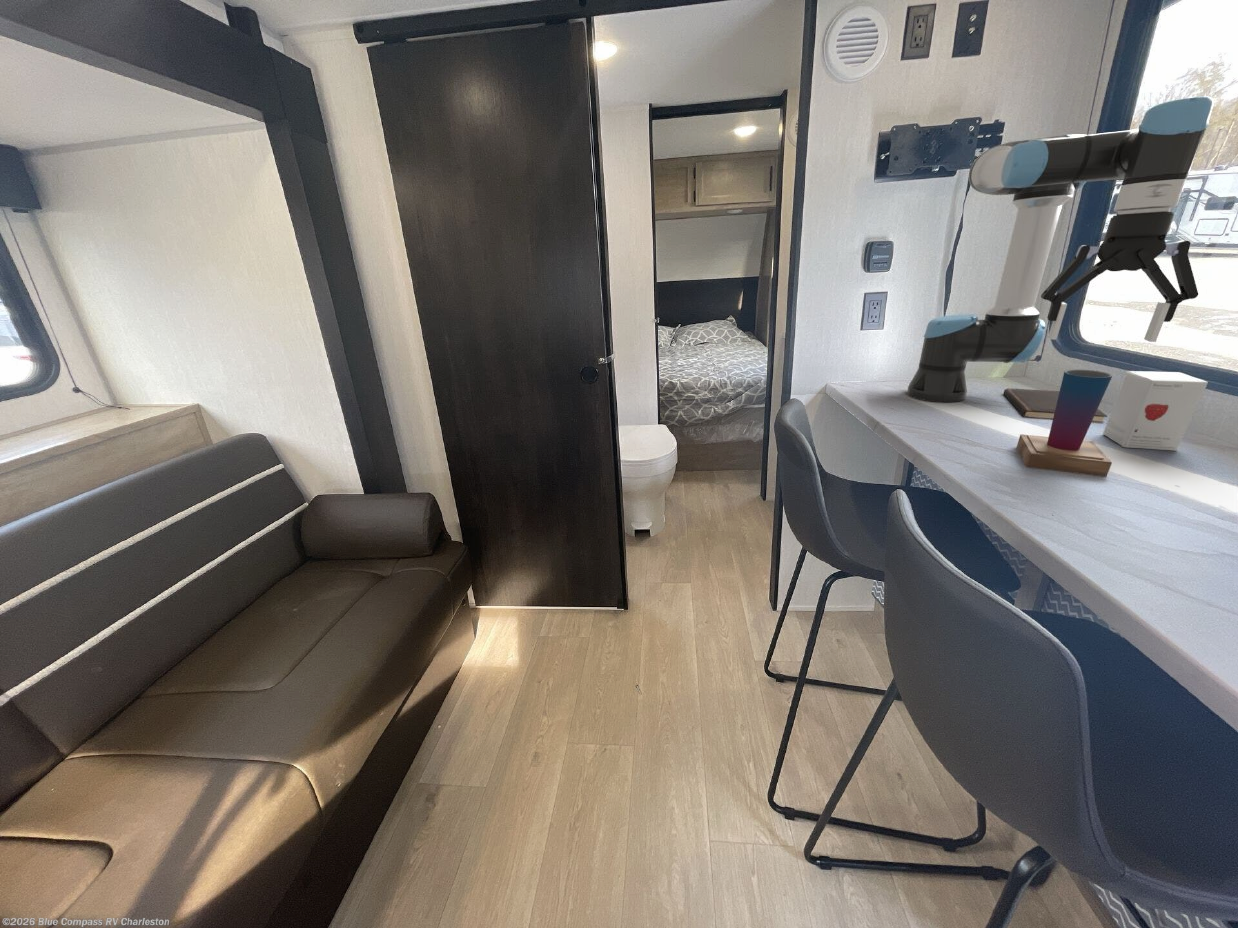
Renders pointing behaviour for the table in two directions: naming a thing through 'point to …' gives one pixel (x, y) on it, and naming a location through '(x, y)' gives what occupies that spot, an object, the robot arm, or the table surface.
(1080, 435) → the cup
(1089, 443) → the pedestal
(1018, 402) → the hardcover book
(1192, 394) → the supplement box
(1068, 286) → the robot arm
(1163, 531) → the table surface
